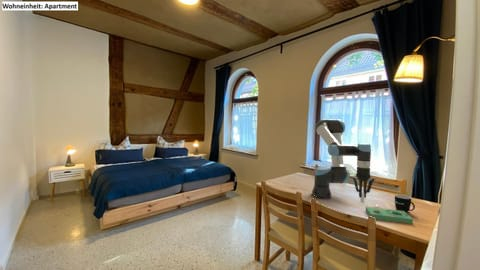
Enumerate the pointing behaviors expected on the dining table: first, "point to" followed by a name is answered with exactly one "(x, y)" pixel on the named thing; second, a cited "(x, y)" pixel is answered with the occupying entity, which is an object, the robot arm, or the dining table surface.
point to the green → (390, 215)
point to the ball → (377, 208)
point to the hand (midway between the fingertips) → (362, 202)
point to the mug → (403, 203)
